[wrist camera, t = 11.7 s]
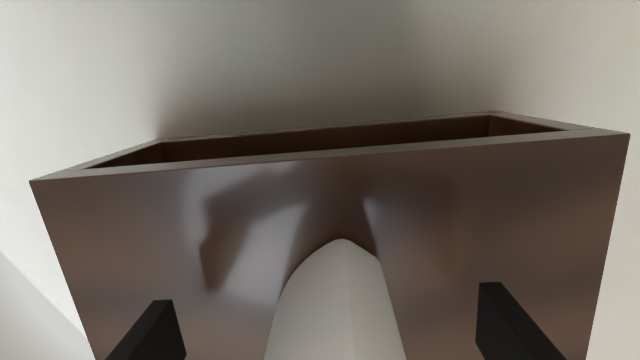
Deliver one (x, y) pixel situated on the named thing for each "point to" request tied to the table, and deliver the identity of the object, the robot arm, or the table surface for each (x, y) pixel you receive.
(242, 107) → the table surface
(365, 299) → the eye dropper bottle
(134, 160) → the dark wooden box
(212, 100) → the table surface
